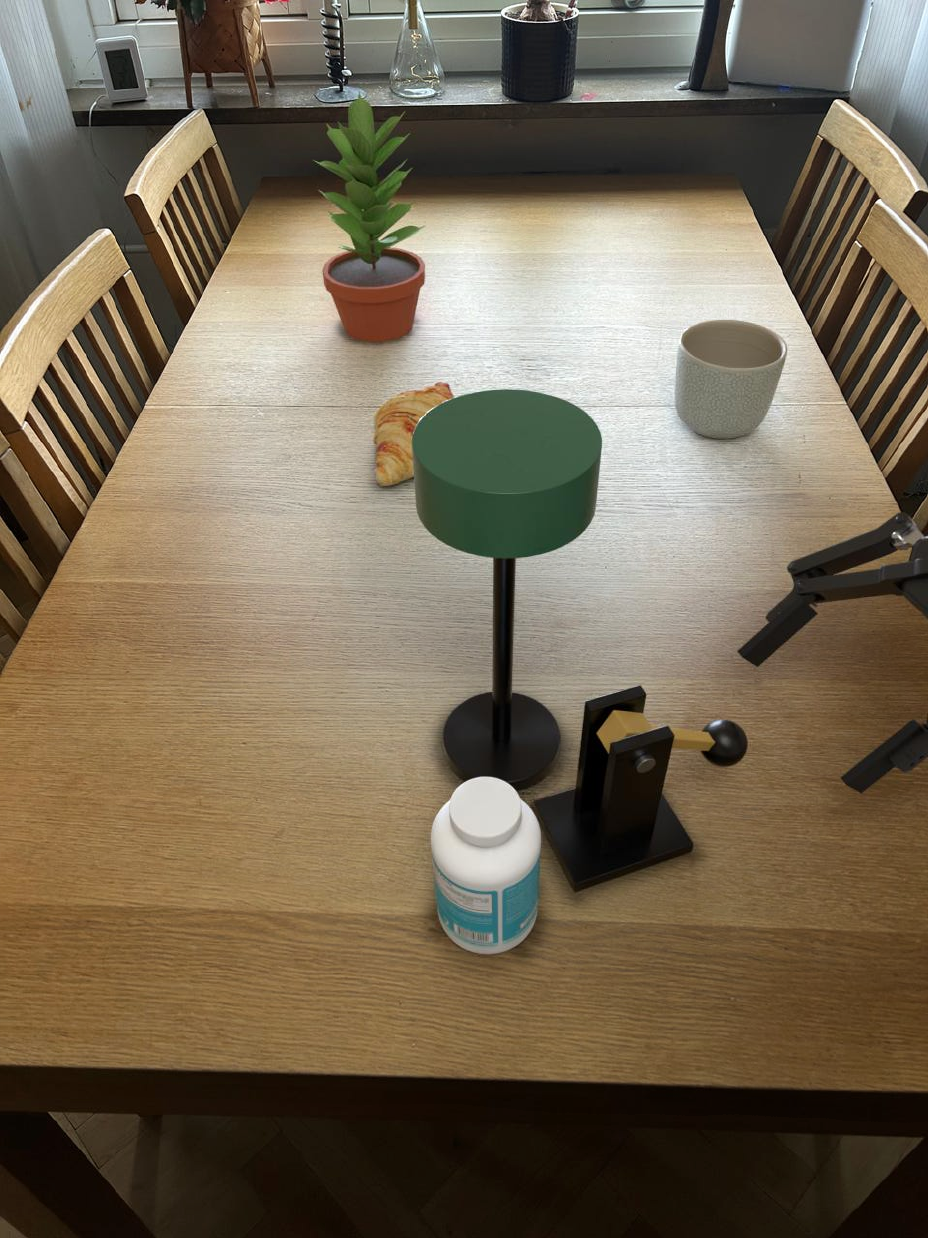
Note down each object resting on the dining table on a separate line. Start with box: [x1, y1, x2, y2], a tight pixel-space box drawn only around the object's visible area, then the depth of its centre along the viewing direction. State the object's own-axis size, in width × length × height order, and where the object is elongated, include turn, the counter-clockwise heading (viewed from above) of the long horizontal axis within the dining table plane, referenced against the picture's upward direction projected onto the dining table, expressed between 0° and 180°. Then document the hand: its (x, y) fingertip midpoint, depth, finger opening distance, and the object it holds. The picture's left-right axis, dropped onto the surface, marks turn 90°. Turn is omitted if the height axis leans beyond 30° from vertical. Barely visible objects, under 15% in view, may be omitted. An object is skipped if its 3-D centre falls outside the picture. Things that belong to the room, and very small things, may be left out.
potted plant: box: [312, 91, 427, 343], centre depth 126 cm, size 15×15×30 cm
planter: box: [674, 319, 788, 440], centre depth 113 cm, size 12×12×11 cm
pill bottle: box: [430, 777, 542, 955], centre depth 64 cm, size 8×7×14 cm
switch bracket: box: [532, 684, 695, 893], centre depth 69 cm, size 10×8×14 cm
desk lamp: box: [412, 388, 603, 793], centre depth 69 cm, size 12×12×31 cm
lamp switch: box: [597, 710, 749, 768], centre depth 68 cm, size 13×4×4 cm, turn 110°
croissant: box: [373, 381, 455, 487], centre depth 112 cm, size 21×10×8 cm, turn 162°
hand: (795, 718), depth 72 cm, fingers open, 13 cm apart
